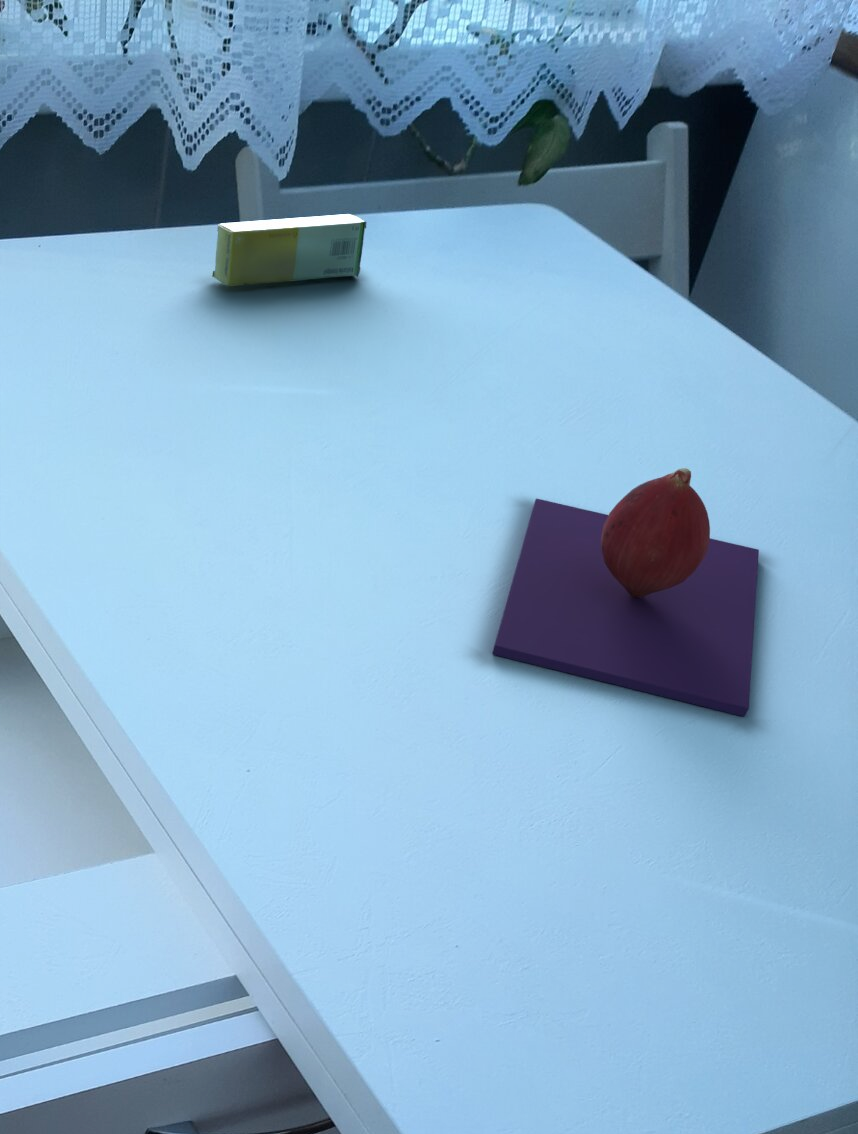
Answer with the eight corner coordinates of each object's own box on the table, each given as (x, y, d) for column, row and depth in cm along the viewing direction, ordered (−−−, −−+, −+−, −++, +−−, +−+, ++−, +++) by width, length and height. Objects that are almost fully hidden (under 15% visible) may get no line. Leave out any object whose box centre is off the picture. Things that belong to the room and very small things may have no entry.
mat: (755, 557, 95) (759, 549, 94) (744, 717, 83) (749, 708, 82) (533, 506, 97) (535, 497, 97) (491, 654, 85) (494, 645, 85)
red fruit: (569, 596, 89) (613, 468, 83) (606, 557, 92) (650, 431, 86) (663, 633, 87) (715, 505, 81) (697, 592, 90) (749, 466, 84)
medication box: (343, 266, 122) (351, 212, 119) (361, 276, 120) (370, 221, 117) (210, 277, 117) (216, 220, 115) (227, 287, 115) (232, 230, 113)
